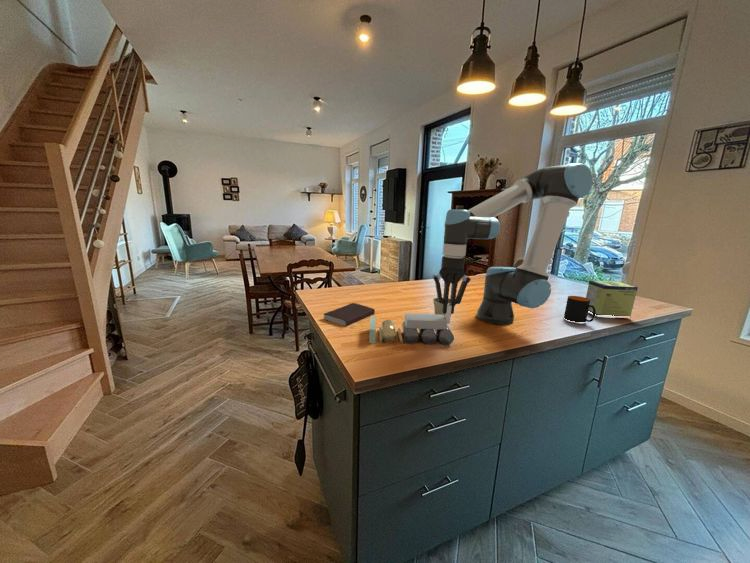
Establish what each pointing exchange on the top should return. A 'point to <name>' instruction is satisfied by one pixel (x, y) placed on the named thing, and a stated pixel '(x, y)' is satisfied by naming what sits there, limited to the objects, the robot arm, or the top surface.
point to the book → (349, 314)
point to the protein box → (611, 297)
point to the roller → (388, 331)
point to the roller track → (423, 335)
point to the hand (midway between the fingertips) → (446, 322)
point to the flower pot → (439, 306)
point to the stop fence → (372, 329)
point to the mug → (578, 309)
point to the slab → (425, 321)
